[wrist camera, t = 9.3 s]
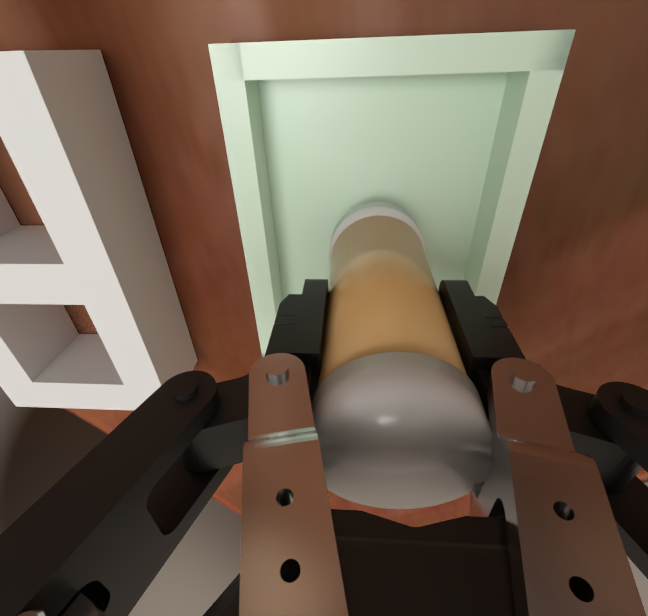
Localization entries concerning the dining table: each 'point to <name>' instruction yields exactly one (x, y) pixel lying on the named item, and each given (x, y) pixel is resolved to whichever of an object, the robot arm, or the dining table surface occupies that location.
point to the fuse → (393, 373)
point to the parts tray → (384, 147)
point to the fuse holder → (80, 246)
